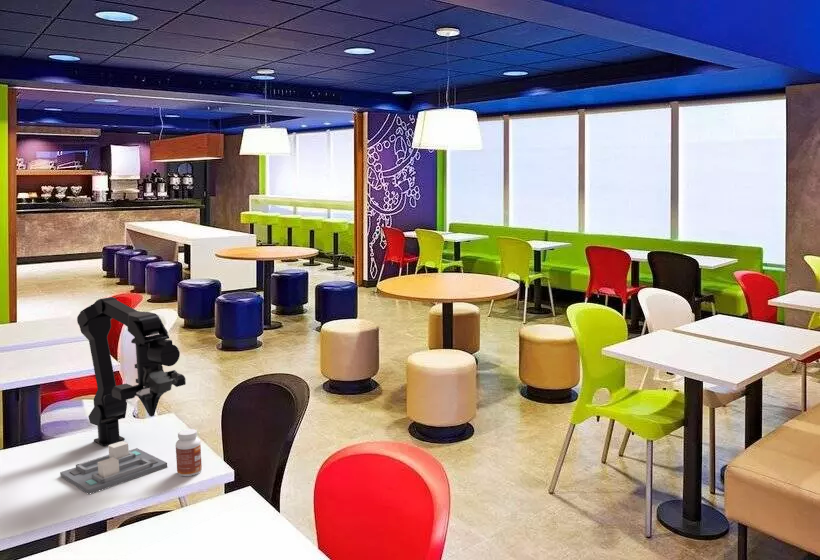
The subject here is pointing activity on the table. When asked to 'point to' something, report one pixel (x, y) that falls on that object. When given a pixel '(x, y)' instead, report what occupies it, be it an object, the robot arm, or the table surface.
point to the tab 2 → (108, 467)
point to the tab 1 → (118, 450)
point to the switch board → (129, 469)
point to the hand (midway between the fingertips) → (151, 416)
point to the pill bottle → (188, 453)
